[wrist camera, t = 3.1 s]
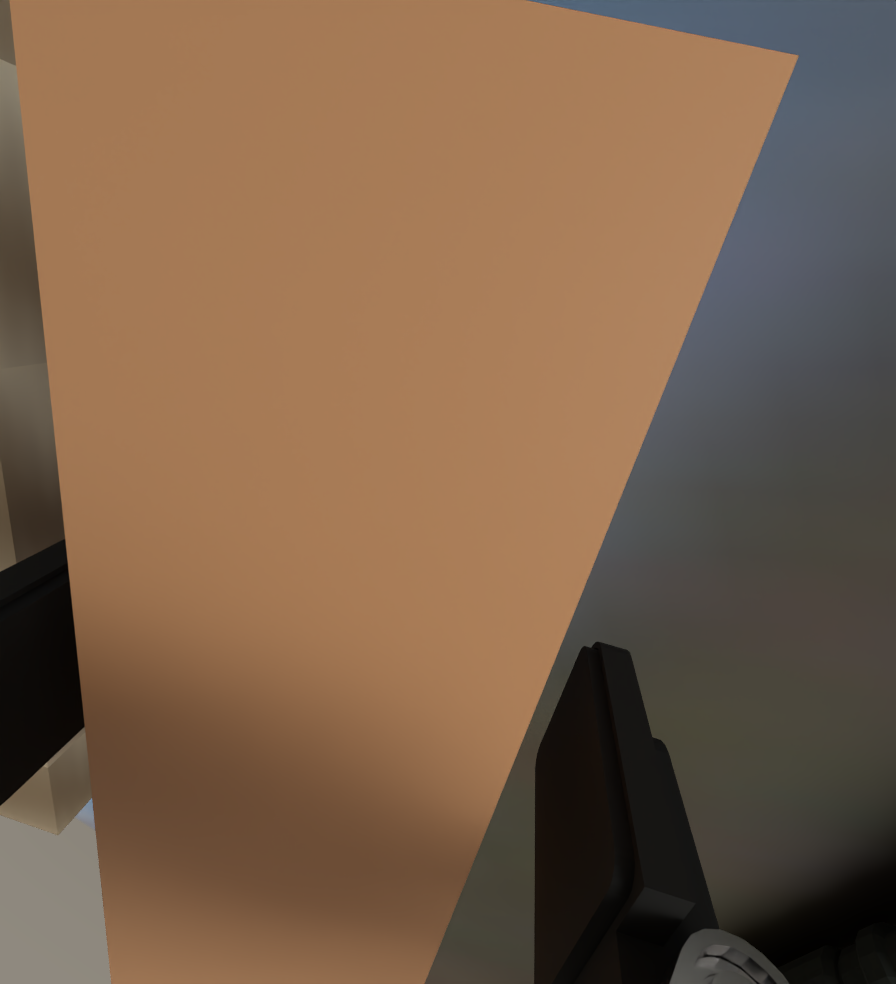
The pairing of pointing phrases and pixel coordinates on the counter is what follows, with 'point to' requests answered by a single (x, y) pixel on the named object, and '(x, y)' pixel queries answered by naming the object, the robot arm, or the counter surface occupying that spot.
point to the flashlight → (849, 960)
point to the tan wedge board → (347, 425)
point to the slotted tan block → (28, 433)
